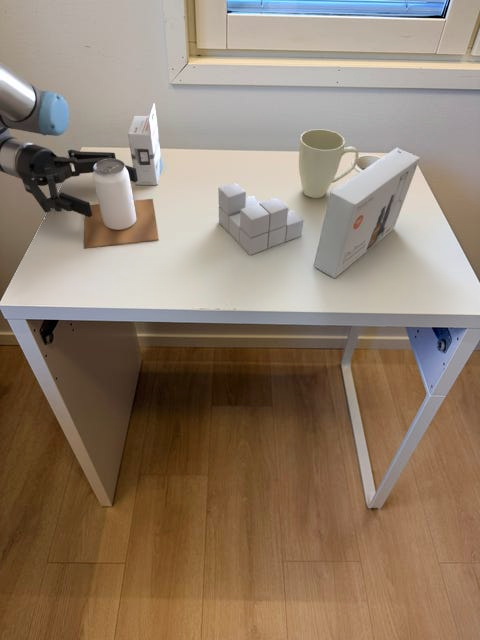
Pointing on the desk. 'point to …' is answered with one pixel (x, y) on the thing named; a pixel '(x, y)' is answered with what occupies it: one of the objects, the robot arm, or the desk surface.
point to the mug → (321, 160)
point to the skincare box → (364, 211)
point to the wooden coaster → (138, 232)
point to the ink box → (145, 148)
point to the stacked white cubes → (256, 219)
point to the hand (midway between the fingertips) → (113, 192)
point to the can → (114, 194)
